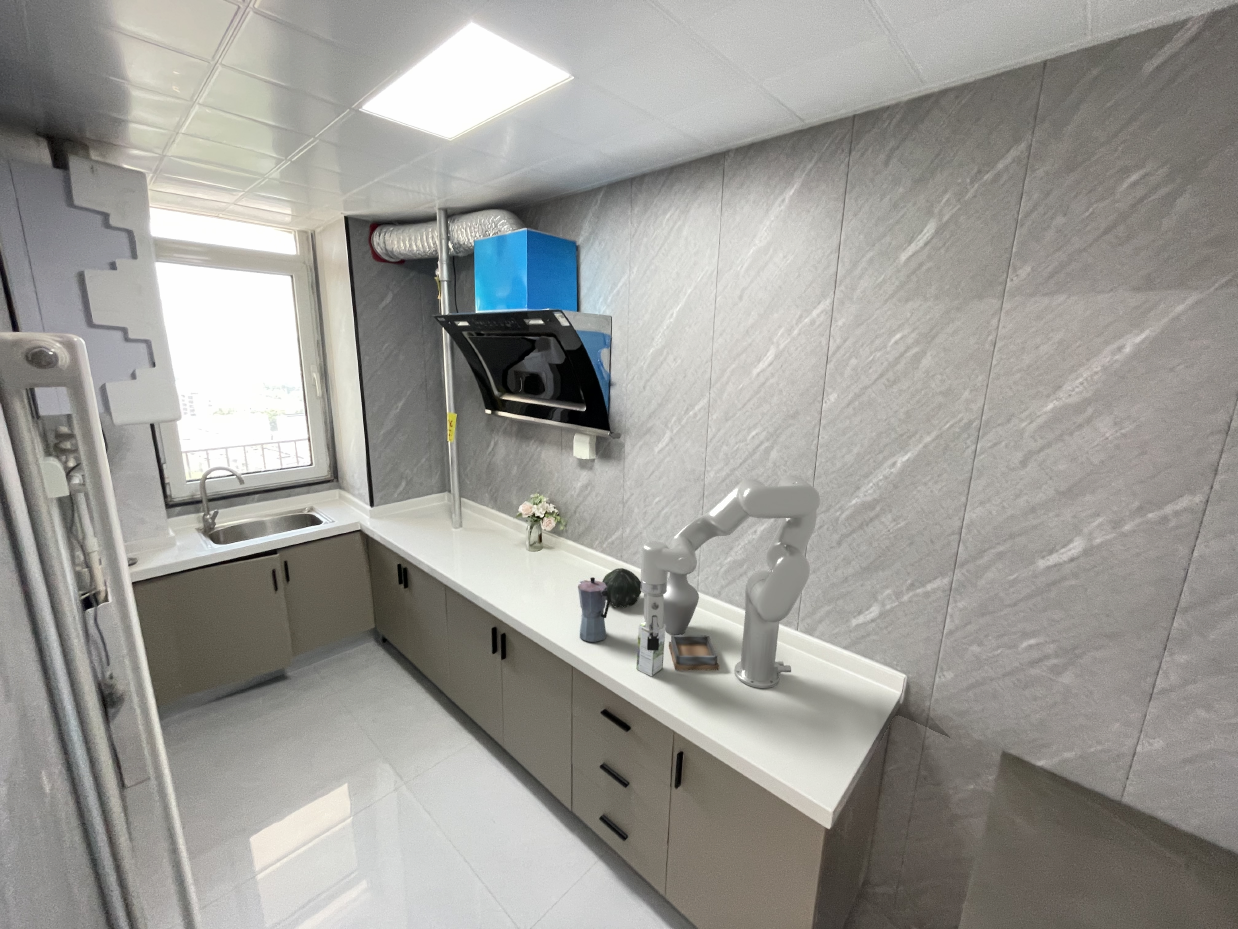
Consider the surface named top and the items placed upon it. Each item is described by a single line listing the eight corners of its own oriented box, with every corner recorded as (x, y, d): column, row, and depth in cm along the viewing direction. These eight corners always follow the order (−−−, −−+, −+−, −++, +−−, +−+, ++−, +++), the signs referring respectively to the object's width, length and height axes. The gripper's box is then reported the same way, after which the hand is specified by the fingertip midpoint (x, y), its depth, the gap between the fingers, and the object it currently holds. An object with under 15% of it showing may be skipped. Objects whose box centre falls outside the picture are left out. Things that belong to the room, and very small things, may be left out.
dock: (709, 646, 164) (709, 634, 163) (718, 670, 151) (719, 658, 150) (668, 645, 163) (669, 634, 162) (675, 670, 150) (675, 658, 150)
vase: (648, 636, 168) (651, 565, 163) (660, 616, 182) (663, 550, 176) (691, 645, 164) (696, 572, 158) (700, 624, 177) (705, 556, 172)
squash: (626, 575, 202) (609, 555, 193) (654, 589, 192) (638, 568, 182) (605, 605, 197) (587, 586, 187) (633, 621, 187) (615, 601, 177)
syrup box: (647, 661, 154) (649, 616, 152) (663, 668, 151) (666, 623, 148) (636, 669, 150) (637, 624, 147) (652, 677, 146) (654, 631, 144)
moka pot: (589, 622, 176) (590, 567, 172) (621, 640, 165) (623, 582, 161) (567, 632, 169) (568, 575, 165) (599, 651, 159) (600, 591, 155)
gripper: (671, 599, 137) (668, 659, 140) (662, 572, 154) (660, 626, 157) (643, 599, 136) (640, 659, 140) (637, 572, 153) (635, 626, 157)
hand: (651, 641), depth 149 cm, fingers closed on syrup box, 7 cm apart
